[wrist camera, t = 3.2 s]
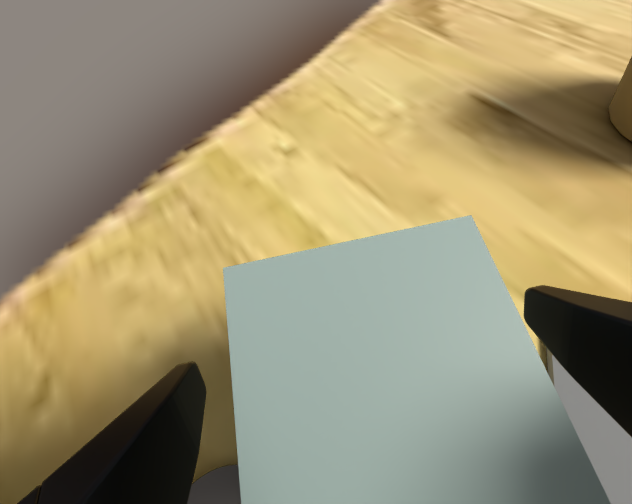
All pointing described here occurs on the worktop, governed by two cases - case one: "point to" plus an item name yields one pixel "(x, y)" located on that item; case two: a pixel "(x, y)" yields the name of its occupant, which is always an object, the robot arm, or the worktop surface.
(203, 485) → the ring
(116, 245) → the worktop surface
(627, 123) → the squeeze bottle
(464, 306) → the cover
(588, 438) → the mat
